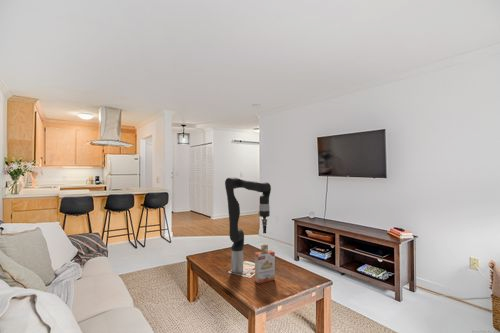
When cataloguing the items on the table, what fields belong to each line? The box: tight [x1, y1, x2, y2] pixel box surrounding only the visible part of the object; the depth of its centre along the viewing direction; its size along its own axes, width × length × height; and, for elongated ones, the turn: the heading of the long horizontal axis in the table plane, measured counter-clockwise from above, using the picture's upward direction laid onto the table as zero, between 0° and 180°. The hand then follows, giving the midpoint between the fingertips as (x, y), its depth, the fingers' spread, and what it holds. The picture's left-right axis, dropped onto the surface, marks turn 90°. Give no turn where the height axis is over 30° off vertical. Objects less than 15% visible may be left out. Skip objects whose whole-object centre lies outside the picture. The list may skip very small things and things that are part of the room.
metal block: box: [260, 242, 269, 253], centre depth 192 cm, size 5×5×6 cm
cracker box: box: [254, 249, 276, 284], centre depth 192 cm, size 14×6×21 cm, turn 117°
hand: (264, 231), depth 192 cm, fingers open, 8 cm apart
